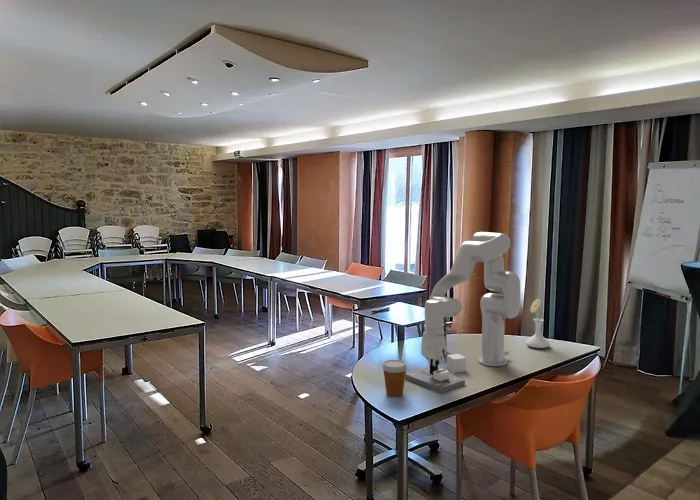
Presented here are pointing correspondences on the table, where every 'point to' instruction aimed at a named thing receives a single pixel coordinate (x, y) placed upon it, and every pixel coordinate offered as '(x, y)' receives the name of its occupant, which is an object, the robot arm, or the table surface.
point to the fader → (441, 374)
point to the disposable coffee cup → (394, 377)
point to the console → (434, 380)
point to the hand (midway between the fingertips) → (433, 374)
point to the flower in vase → (537, 329)
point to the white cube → (456, 363)
